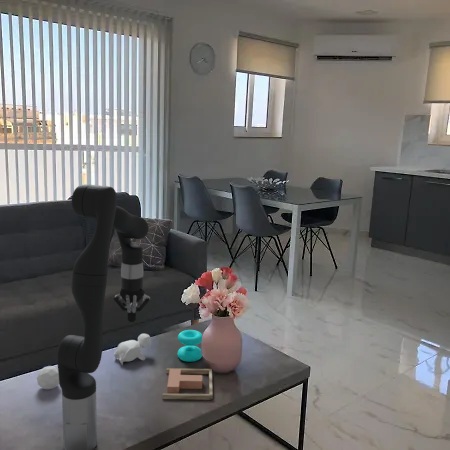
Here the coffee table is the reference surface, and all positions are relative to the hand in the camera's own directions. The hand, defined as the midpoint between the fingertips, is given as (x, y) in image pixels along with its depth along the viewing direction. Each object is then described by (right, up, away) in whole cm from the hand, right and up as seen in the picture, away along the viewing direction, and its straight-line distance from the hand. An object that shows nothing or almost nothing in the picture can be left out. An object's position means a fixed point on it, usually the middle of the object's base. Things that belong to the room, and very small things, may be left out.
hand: (132, 321), depth 171 cm
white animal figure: (-3, -19, +21) cm, 28 cm away
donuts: (+19, -19, +23) cm, 35 cm away
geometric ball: (-28, -23, -2) cm, 36 cm away
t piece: (+19, -23, +3) cm, 30 cm away
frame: (+20, -23, +3) cm, 31 cm away
